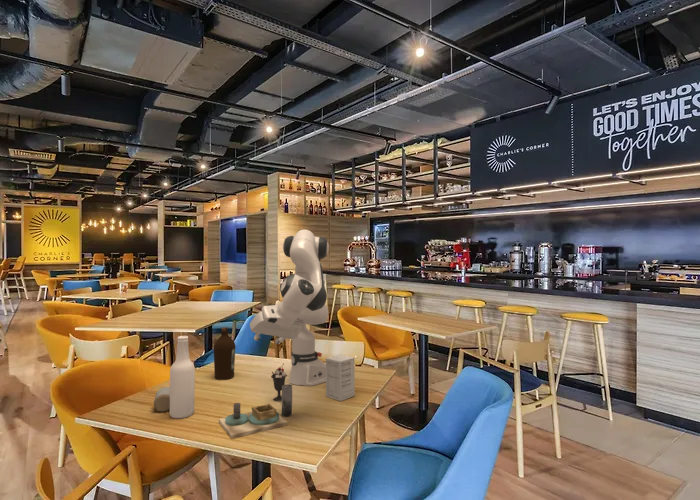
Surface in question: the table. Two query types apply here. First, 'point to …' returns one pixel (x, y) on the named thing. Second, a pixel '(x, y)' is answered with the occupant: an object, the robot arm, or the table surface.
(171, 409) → the alcohol
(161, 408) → the ceramic mug
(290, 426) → the table surface
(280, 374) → the sundae
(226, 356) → the olive oil
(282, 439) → the table surface
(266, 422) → the gear board
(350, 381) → the supplement box
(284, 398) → the axle
